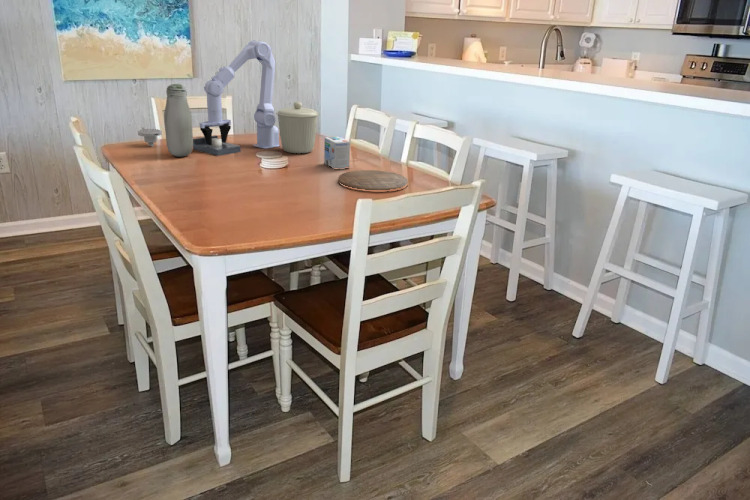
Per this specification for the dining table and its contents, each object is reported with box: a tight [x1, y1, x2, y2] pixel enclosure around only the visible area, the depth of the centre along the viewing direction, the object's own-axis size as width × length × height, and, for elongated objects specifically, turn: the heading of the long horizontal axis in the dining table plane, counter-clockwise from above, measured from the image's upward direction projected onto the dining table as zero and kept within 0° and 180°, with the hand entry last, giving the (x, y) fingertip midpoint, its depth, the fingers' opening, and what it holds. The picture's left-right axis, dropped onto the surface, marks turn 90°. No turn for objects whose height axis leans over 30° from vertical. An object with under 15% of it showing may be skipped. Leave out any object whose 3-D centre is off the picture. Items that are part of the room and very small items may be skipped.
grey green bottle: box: [163, 83, 194, 158], centre depth 226 cm, size 10×10×28 cm
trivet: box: [337, 169, 409, 190], centre depth 207 cm, size 25×25×2 cm
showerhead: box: [137, 126, 163, 147], centre depth 244 cm, size 9×7×10 cm
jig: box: [192, 134, 242, 157], centre depth 243 cm, size 12×16×4 cm
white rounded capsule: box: [212, 137, 222, 147], centre depth 242 cm, size 4×4×5 cm
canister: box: [276, 101, 320, 155], centre depth 246 cm, size 18×18×21 cm
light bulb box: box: [323, 136, 351, 168], centre depth 226 cm, size 11×7×11 cm, turn 27°
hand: (216, 143), depth 242 cm, fingers open, 7 cm apart
